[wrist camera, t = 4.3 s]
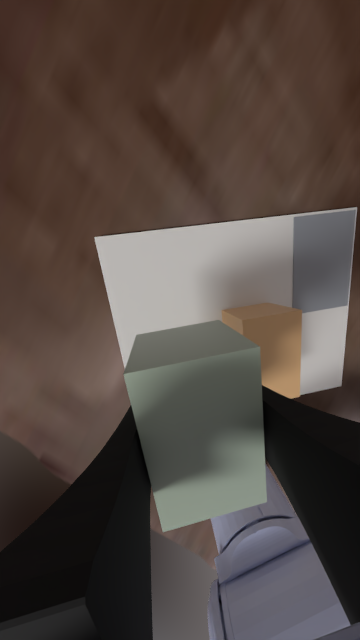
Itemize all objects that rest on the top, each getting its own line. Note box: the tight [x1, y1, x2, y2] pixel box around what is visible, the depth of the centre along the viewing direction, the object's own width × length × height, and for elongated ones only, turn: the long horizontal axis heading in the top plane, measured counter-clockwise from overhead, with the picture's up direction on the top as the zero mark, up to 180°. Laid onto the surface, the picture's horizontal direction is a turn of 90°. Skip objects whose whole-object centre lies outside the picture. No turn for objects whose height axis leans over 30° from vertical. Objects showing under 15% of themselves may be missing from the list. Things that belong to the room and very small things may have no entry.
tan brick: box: [222, 303, 302, 399], centre depth 17 cm, size 8×5×4 cm, turn 8°
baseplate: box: [94, 207, 357, 395], centre depth 19 cm, size 20×25×1 cm
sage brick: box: [124, 320, 267, 532], centre depth 10 cm, size 8×5×4 cm, turn 9°
